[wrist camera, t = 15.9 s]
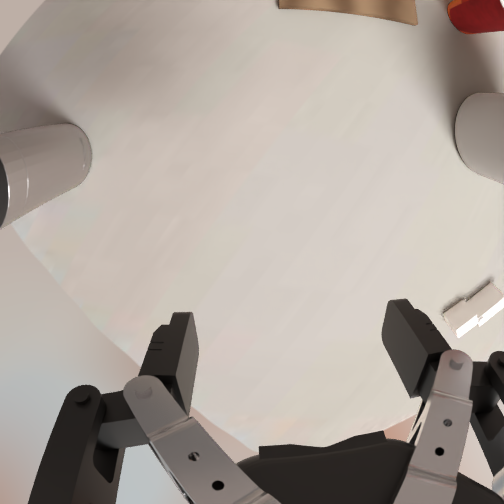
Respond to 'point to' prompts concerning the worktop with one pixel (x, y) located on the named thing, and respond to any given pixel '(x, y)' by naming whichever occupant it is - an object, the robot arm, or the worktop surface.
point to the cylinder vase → (482, 134)
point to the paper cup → (477, 15)
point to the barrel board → (361, 8)
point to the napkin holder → (474, 310)
